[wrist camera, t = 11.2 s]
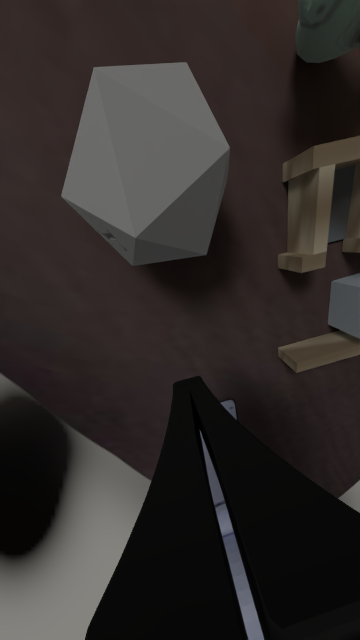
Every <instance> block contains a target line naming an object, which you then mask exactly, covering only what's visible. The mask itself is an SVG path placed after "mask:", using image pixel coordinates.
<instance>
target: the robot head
mask: <svg viewBox="0 0 360 640" xmlns="http://www.w3.org/2000/svg"><path fill="white" fill-rule="evenodd" d="M298 14H299V22H298V26H297V31H296V35H295V40H296V49H297V55H298V56H300V57H301V58H302V59H303V60H304V61H305V62H306V63H321V62H325V61H328V60H332V59H335V58H337V57H339V56H341V55H343V54H345V53H347V52H349V51H351V50H353V49H355V48H357V47H359V46H360V0H298Z"/></svg>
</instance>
